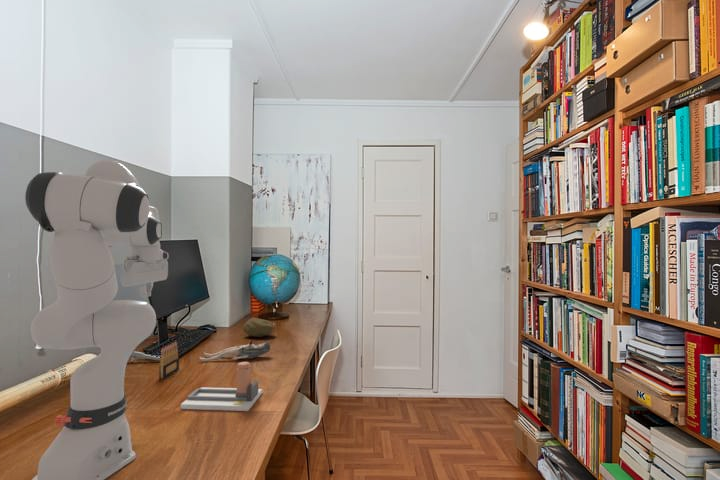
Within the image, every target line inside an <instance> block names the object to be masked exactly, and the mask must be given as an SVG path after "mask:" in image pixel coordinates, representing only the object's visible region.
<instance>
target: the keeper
mask: <svg viewBox="0 0 720 480" xmlns="http://www.w3.org/2000/svg"><path fill="white" fill-rule="evenodd" d="M251 384H252V365H251V363H250V362H249V361H241V362H238V363H237V368H236V388H237V393H236V397H247V388H248V387H249V386H250V385H251Z"/></svg>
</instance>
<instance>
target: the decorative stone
mask: <svg viewBox="0 0 720 480" xmlns="http://www.w3.org/2000/svg"><path fill="white" fill-rule="evenodd" d="M242 329H243V332H244V333H245V334H246V335H248V336H250V337H253V338H262V337H265V336H269V335H271V334H272V332H273V331H274V330H275V326H274V323H273V322H271V321H270V320H266V319H262V318H258V317H251V318H249V319H248V320H246V322H245V323H244V324H243V327H242Z"/></svg>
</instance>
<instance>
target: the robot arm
mask: <svg viewBox="0 0 720 480" xmlns="http://www.w3.org/2000/svg"><path fill="white" fill-rule="evenodd" d="M24 200H25V204H26V208H27V210H28V211H29V213H30V215H31V216H32V218H33V219H34V220H35V221H36V222H38V224H39V227H40V228H41V229H43V230H44V231H45V232H48V233H52V232H54V235H53V236H52V238H51V240H50V245H49V261H50V269H51V273H52V277H53V281H54V284H55V287H56V292H57V298H56V300H55V301H54V302H53V303H52V304H50V305H47V306H46V307H43V308H42V309H40V310H39V311H38V312H37V314H35V315H34V318H33V319H32V321H31V325H30V335H31V339H32V340H33V341H34V343H35V345H37V346H38V347H39V348H40V349H49V350H50V349H51V350H64V351H65V350H75V349H84V348H95V347H97V348H100V353H99V354H98V355H96V356H95V357H93V358H91V359H89V360H87V361H85V362H84V363H82V364H80V365H79V366H78V367H76V368H75V369H74V371H73V372H72V374H71V375H70V383H69V384H70V385H69V386H70V393H69V395H70V405H69V406H68V409H67V410H66V411H67V412H66V414H65V415H64V414H63V415H62V414H58V415H57V416H55V419H54V424H55V425H59V426H60V425H62V426H63V425H64V426H63V428H62V429H61V430H60V432H59V433H58V434H57V436H56V437H55V439H53V441H52V443H51V444H50V445H49V447H48V448H47V449H46V450H45V452H44V453H43V455H41V457H40V458H39V461H38V466H37V474H36V475H35V476H34V477H33V478H32V479H31V480H106V479H107V478H109V477H110V476H112V475H113V474H115V473H116V472H118V471H119V470H120V469H122V468H123V467H124V466H126V465H128V464H130V463H132V462H133V461H134V460H135V459H136V458H137V455H136V452H135V451H134V450H133V445H132V437H131V429H130V428H131V427H130V424H129V422H128V420H127V417H126V414H125V412H126V411H127V397H126V394H125V374H126V367H127V364H128V362H127V361H128V359H129V360H130V358H131V356H130V355H131V354H132V352H134V351H135V350H136V348H137V347H138V346H139V345H140V344H141V343H143V342H144V341H145V340H146V339H147V338H148V337H150V336H151V334H152V333H153V332H154V330H155V327H156V325H157V314H156V311H155V309H154V307H153V306H152V305H151V303H149V302H147V301H143V300H134V299H117V300H116V299H115V297H116V296H117V293H118V290H119V286H118V279H117V274H116V273H117V272H116V266H115V262H114V257H113V254H112V251H111V249H110V248H111V247H129V256H127V257H126V258H125V259H124V261H123V264H122V266H121V271H120V284H121V286H122V287H125V288H126V287H128V288H129V287H130V288H131V287H137V288H138V291H139V293H140V298H143V299H144V298H149V297H151V296H152V290H153V287H154V283H156V282H161V281H167V278H168V276H169V262H168V259H169V258H170V257H169V253H168V252H166V251H164V250H163V249H161V243H160V239H162V236H163V234H162V231H163V230H162V228H163V227H162V223H161V221H160V213H159V210H158V208H157V207H155V206H152V205H150V200H149V195H148V194H147V193H146V192H145V190H144V189H143V188H142V187H141V185H140V183H139V181H138V179H137V178H136V177H135V175H134V174H133V173H132V172H131V171H130V170H129V169H128V168H127V167H126V166H125V165H123V164H121V163H120V162H118V161H115V160H110V159H105V160H99V161H97V162H94V163H92V164H91V165H90V166H89V167H88V168H87V169H86V171H85V173H84V174H83V175H82V174H81V175H80V174H71V173H70V174H69V173H63V172H60V171H50V172H49V171H48V172H39V173H38V174H36V175H35V176H34V177H32V179H31V180H30V181H29V182H28V184H27V187H26V190H25V199H24ZM114 299H115V300H114ZM129 357H130V358H129Z"/></svg>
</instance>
